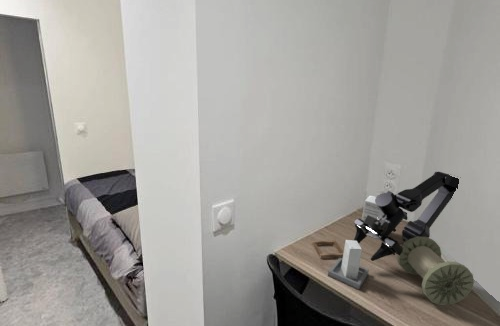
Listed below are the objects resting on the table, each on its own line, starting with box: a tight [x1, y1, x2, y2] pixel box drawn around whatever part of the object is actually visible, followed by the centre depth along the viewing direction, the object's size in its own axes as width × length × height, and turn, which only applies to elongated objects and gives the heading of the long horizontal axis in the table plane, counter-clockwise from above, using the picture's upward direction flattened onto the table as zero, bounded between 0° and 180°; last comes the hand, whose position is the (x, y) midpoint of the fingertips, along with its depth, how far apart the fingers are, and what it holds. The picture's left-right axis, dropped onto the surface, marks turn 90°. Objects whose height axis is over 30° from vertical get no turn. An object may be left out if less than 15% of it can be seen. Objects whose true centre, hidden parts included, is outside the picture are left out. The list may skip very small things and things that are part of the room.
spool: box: [396, 236, 475, 306], centre depth 94 cm, size 16×15×15 cm
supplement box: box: [361, 195, 384, 240], centre depth 130 cm, size 10×9×17 cm
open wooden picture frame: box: [311, 240, 344, 260], centre depth 115 cm, size 10×10×2 cm
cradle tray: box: [327, 258, 370, 291], centre depth 100 cm, size 11×11×2 cm
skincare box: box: [341, 239, 363, 279], centre depth 99 cm, size 6×4×12 cm
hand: (361, 252), depth 100 cm, fingers open, 9 cm apart
